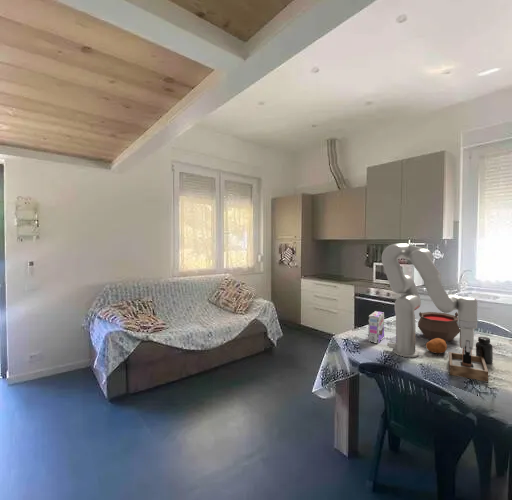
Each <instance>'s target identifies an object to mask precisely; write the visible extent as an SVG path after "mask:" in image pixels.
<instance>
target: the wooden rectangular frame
mask: <svg viewBox="0 0 512 500" xmlns="http://www.w3.org/2000/svg"><path fill="white" fill-rule="evenodd" d="M448 362H449V363H448V364H449V365H448V367H449V375H450V376H454V377H460V378H466V379H472V380H475V379H476V381H480V382H481V381H482V382H486V381H488V382H489V370H488V367H487V364H486V363H485V360H484V358H483V357H479V356H476V355H472V365H471V367H466V366H463V365H462V353H460V352H459V353H458V352H452V351H449V352H448Z"/></svg>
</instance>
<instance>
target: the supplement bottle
mask: <svg viewBox="0 0 512 500" xmlns="http://www.w3.org/2000/svg"><path fill="white" fill-rule="evenodd" d="M477 339H478V340H477V342H476V343H475V356H479V357H483V358H484V360H485V363H486V365H492V364H493V362H494V358H493V357H494V353H493V352H494V347H493V345H492V344H491V339H490V338H489V337H487V336H478V337H477Z"/></svg>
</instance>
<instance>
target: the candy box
mask: <svg viewBox="0 0 512 500" xmlns="http://www.w3.org/2000/svg"><path fill="white" fill-rule="evenodd" d="M383 337H384V338H385V312H382V311H377V310H374V312H372V313H371V314H369V315H368V339H367V341H371V342H376V343H379V344H380V342H381V341H382V340H383V339H384V338H383ZM382 338H383V339H382ZM381 339H382V340H381ZM380 340H381V341H380ZM371 342H370V343H371Z"/></svg>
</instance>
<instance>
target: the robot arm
mask: <svg viewBox="0 0 512 500" xmlns="http://www.w3.org/2000/svg"><path fill="white" fill-rule="evenodd" d="M381 253H382V254H381V263H382V266H383V268H384V272H385V275H386V278H387V281H388V283H389V287H390V289H391V290H392V292H393V293H394V294H400V296H399V297H397V299H395V302H394V312H395V342H394V343H391V342H387V344H386V347H388V348H389V349H391V348H392V352H394V353H393V354H395V353H396V354H397V355H396V354H395V355H396V356H399V355H400V356H399V357H402V356H403V357H404V358H410V357H412V358H417V357H419V354H420V353H419V351H418V350H417V349H416V316H415V311H416V310H417V309H419V308H420V307H421V304H422V302H421V300H422V299H421V296H420V295H419V291H418V288H417V286H416V283H415V280H414V279H413V278H412V277H411V276H410V275H407V274H404V271H403V268H402V266H401V264H400V262H399V259H400V260H401V259H405V260H409V261H410V263H411V264H412V266H413V267H414V268H415V270H416V271H417V273H418V274H419V276H420V278H421V279H422V281H423V283H424V287H425V289H426V292H427V295H429V297H430V299H431V301H432V302H433V304H434V306H435V307H436V308H437V310H439V311H440V312H441V313H446V314H449V313H451V312H453V311H456V310H457V313H458V316H457V317H458V321H457V324H458V326H459V329H460V332H459V347H460V349H463V348H464V354H463V363H468V364H471V350H472V351H473V349H474V340H475V337H474V335H475V329H478V300H477V299H476V298H474V297H468V296H460V295H459V296H458V295H456V294H448V293H447V291H446V289H445V288H444V286H443V283H442V274H441V271H439V269H438V267H437V266H436V265H435V263H434V262H433V258H434V257H433V253H432V251H430V250H429V249H427V248H423V247H421V246H417V245H412V244H409V243H404V242H401V243H400V242H399V243H392V244H390V245H388V246H387V247H385V248H384V249H383V251H382V252H381ZM465 347H466V348H465ZM403 357H402V358H403Z"/></svg>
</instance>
